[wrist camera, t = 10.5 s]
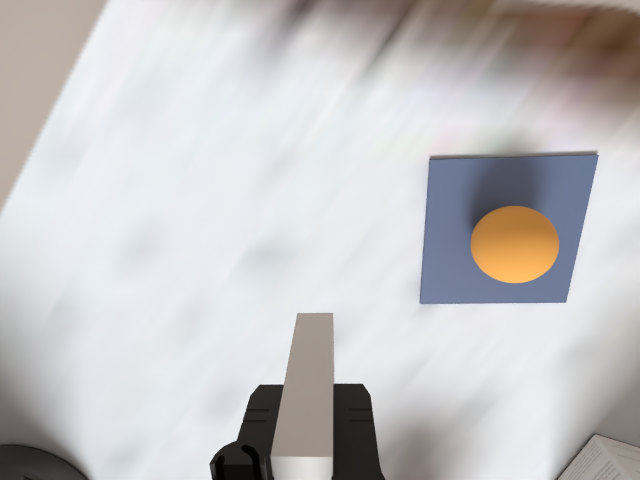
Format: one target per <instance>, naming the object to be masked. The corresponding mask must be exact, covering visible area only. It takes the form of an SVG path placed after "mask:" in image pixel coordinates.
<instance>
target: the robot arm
mask: <svg viewBox="0 0 640 480" xmlns="http://www.w3.org/2000/svg"><path fill="white" fill-rule="evenodd" d="M210 470H211V475H212V480H385V478H384V476H383V474H382V472H381V468H380V463H379V456H378V449H377V441H376V434H375V426H374V419H373V411H372V404H371V397H370V394H369V393H368V391H367V390H366V388H365V387H364V385H363V384H334V331H333V313H297V319H296V324H295V329H294V335H293V340H292V345H291V350H290V356H289V361H288V366H287V372H286V377H285V382H284V385H259V386H258V387H257V389H256V390H255V391H254V392H253V393H252V395H251V396H250V399H249V402H248V405H247V409H246V412H245V415H244V418H243V423H242V425H241V428H240V432H239V435H238V438H237V441H235V442H232V443H230V444H228V445H226V446H224V447H223V448H221V449H220V450H219V451H218V452H217V453H216V454H215V455H214V457H213V459H212V461H211V462H210ZM0 480H86V479H85V478H84V477H83V476H82V475H81V474H80V473H79V472H78V471H77V470H76V469H74V468H73V467H72V466H70V465H69V464H67V463H66V462H64V461H63V460H61V459H59V458H57V457H55V456H53V455H51V454H48V453H46V452H43V451H40V450H37V449H33V448H28V447H22V446H0Z"/></svg>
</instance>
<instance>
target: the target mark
mask: <svg viewBox="0 0 640 480" xmlns="http://www.w3.org/2000/svg"><path fill="white" fill-rule="evenodd" d="M598 156H599V155H573V156H538V157H504V158H469V159H434V160H430V163H429V177H428V192H427V206H426V221H425V236H424V250H423V265H422V279H421V294H420V304H469V303H566V300H567V296H568V291H569V287H570V282H571V278H572V273H573V269H574V264H575V260H576V255H577V251H578V246H579V242H580V237H581V233H582V228H583V224H584V219H585V215H586V210H587V206H588V201H589V197H590V192H591V188H592V183H593V179H594V174H595V170H596V165H597V161H598ZM506 206H522V207H527V208H531V209H533V210H536V211H538V212H540V213H541V214H543V215H544V216H545V217H546V218H547V219H548V220H549V221H550V222H551V223H552V224H553V226H554V228H555V229H556V232H557V234H558V239H559V252H558V255H557V258H556V260H555V262H554V264H553V265H552V266H551V268H550V269H549V270H548V271H547V272H545V273H544V274H543V275H541V276H540V277H538V278H536V279H534V280H531V281H528V282H523V283H507V282H502V281H499V280H496V279H494V278H492V277H490V276H489V275H487V274H486V273H485V272H483V271H482V270H481V269H480V268H479V266H478V265H477V264H476V262H475V260H474V258H473V256H472V252H471V246H470V245H471V236H472V233H473V230H474V228H475V226H476V225H477V224H478V222H479V221H480V220H481V219H482V218H483V217H484V216H485V215H487V214H488V213H490V212H491V211H494V210H496V209H499V208H502V207H506Z"/></svg>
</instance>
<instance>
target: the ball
mask: <svg viewBox="0 0 640 480" xmlns="http://www.w3.org/2000/svg"><path fill="white" fill-rule="evenodd" d="M470 246H471V252H472V256H473V258H474V260H475V262H476V264H477V265H478V266H479V268H480V269H481V270H482V271H483V272H485V273H486V274H487V275H489V276H490V277H492V278H494V279H496V280H499V281H502V282H507V283H523V282H528V281H531V280H534V279H536V278H538V277H540V276H541V275H543V274H544V273H545V272H547V271H548V270H549V269H550V268H551V266H552V265H553V264H554V262H555V260H556V258H557V255H558V252H559V239H558V234H557V232H556V229H555V228H554V226H553V224H552V223H551V222H550V221H549V220H548V219H547V218H546V217H545V216H544V215H543V214H541V213H540V212H538V211H536V210H533V209H531V208H527V207H522V206H506V207H502V208H499V209H496V210H494V211H491V212H490V213H488V214H487V215H485V216H484V217H483V218H482V219H481V220H480V221H479V222H478V224H477V225H476V226H475V228H474V230H473V233H472V236H471V245H470Z"/></svg>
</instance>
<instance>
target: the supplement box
mask: <svg viewBox="0 0 640 480" xmlns="http://www.w3.org/2000/svg"><path fill="white" fill-rule="evenodd" d="M558 480H640V448H639V447H635V446H632V445H629V444H626V443H622V442H619V441H616V440H613V439H609V438H606V437H603V436H600V435H596V434H595V435H594V436H593V437H592V438H591V439H590V441H589V442H588V443H587V444H586V445H585V447H584V448H583V449H582V450H581V452H580V453H579V454H578V455H577V457H576V458H575V459H574V460H573V461H572V463H571V464H570V465H569V466H568V467H567V469H566V470H565V471H564V472H563V474H562V475H561V476H560V477H559V479H558Z"/></svg>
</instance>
